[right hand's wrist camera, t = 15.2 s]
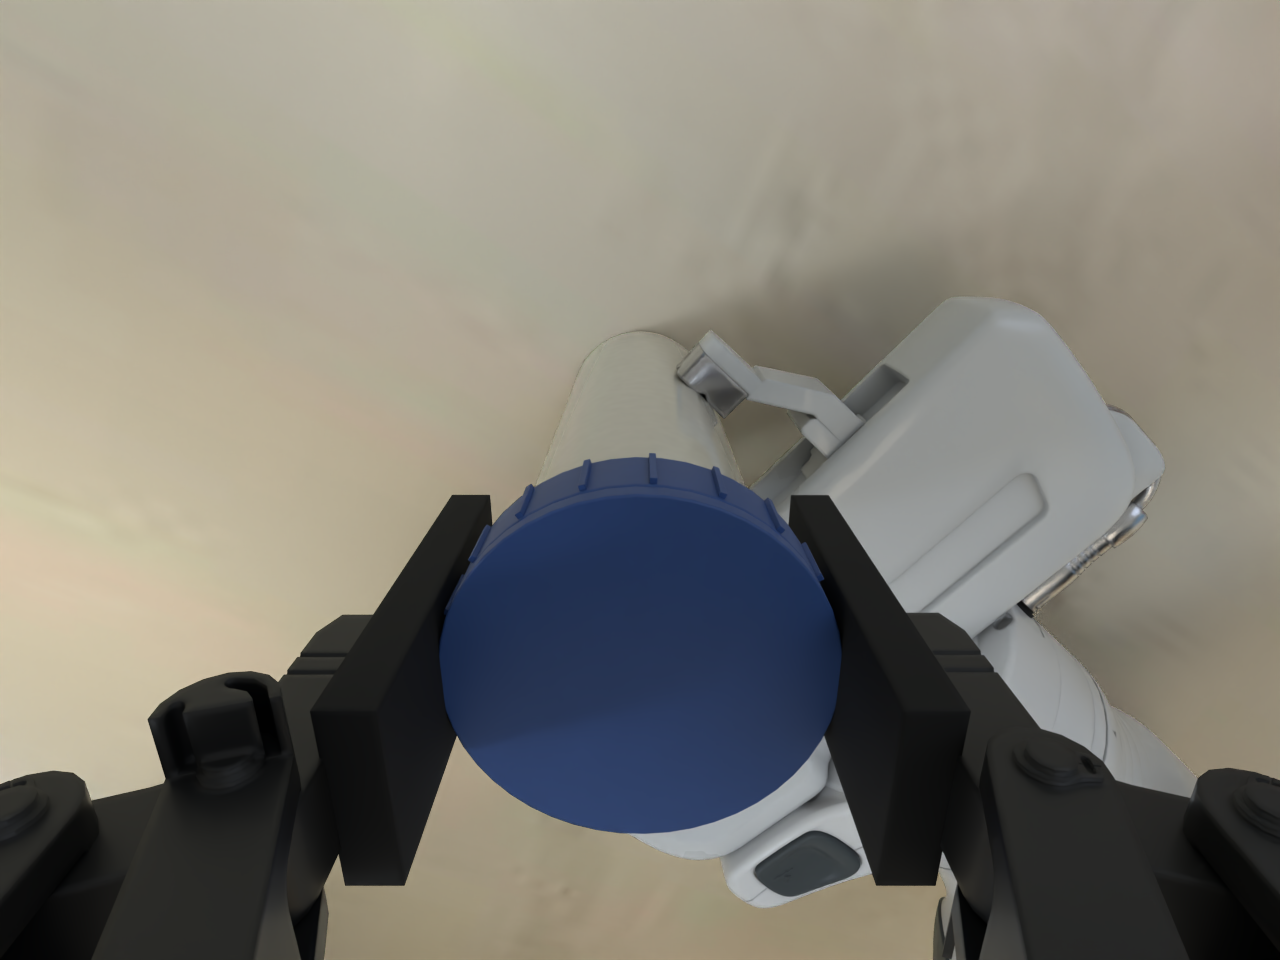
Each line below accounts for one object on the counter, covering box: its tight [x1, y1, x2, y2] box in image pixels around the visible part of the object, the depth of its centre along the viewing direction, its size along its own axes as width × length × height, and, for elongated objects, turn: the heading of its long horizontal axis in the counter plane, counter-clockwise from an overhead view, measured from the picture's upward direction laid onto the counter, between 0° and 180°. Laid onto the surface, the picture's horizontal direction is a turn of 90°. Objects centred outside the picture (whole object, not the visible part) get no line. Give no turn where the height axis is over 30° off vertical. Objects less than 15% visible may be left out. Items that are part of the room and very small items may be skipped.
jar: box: [535, 331, 746, 487], centre depth 19 cm, size 5×5×17 cm
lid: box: [439, 453, 842, 834], centre depth 11 cm, size 6×6×2 cm
